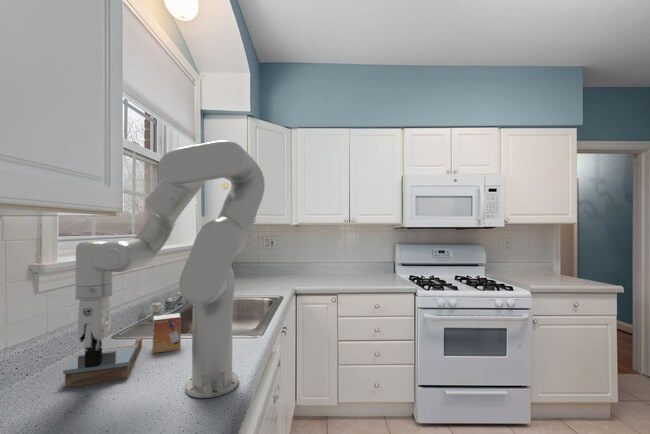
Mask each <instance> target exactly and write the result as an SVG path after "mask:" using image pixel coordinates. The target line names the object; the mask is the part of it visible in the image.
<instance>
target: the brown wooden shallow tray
mask: <svg viewBox="0 0 650 434" xmlns="http://www.w3.org/2000/svg"><path fill="white" fill-rule="evenodd" d="M133 346H136V351H135V353H134V355H133V357H132V359H131V361H130V363H129V365H128V366H124V367H117V368H109V369H101V370H94V371H86V372H78V373H71V374H64V380H65V381H64V388H72V387H78V386H85V385H92V384H93V385H94V384H99V383H107V382H116V381H121V380H127V379H128V378H129V375H130V374H131V371H132V369H133V367H134V365H135V362H136V360H137V358H138V356H139V354H140V352H141V349H142V348H143V336H140V337H137V339H136V340H135V341H134V344H133V345H129V346H128V345H127V346H120V347H119V346H117V347H110V348H109V347H108V348H102V350H107V349H116V348H124V347H133Z"/></svg>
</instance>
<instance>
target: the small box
mask: <svg viewBox="0 0 650 434" xmlns="http://www.w3.org/2000/svg"><path fill="white" fill-rule="evenodd" d="M181 324H182V318H181V313H180V312H175V313H168V314H162V315H153V320H152V354H157V353H163V352H164V353H165V352H171V351H172V352H173V351H179V350H181V342H182V341H181V334H182V333H181V332H182V331H181V330H182V329H181V328H182V326H181Z"/></svg>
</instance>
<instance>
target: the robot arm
mask: <svg viewBox="0 0 650 434" xmlns="http://www.w3.org/2000/svg"><path fill="white" fill-rule="evenodd" d="M157 167H158V168H157V170H158V175H159V177H160V178H161V180H159V182H158V183H157V184H156V185H155V187H154V188H153V189H152V191H151V192H150V193H149V194H148V196H147V197H146V198H145V201H144V205H145V208H146V211H147V217H146V221H145V223H144V224H143V226H142V227H141V229H140V230H139V231H138V232H137V234H136V235H135V236H134V238H133V239H125V240H115V241H111V242H110V241H106V240H89V241H85V240H84V241H81V242H78V244H77V245H76V248H75V281H74V283H75V288H74V289H75V291H74V292H75V293H74V297H75V298H74V299H75V300H76V301H79V303H78V317H77V340H78V342H80V343H83V342H84V347H83V349H84V352H85V368H89V367H97V366H100V364H101V363H102V349H103V347H102V346H103V339H104V338H106V336H107V335H108V334H109V332H110V330H111V328H112V324H111V323H112V321H111V319H112V318H111V302H110V301H111V299H110V297H112V296H113V273H123V272H128V271H130V270H131V271H132V270H134V269H138V268H142V267H144V266H147V265H148V264H149V263H151V261H153V260H154V259H155V257H157V255H158V253H160V251H161V249H163V247H164V246H165V245H166V243H167V241H168V240H169V238H170V237H171V234H172V232H173V230H174V228H175V225H176V221H177V220H178V218H179V216H180V215H181V214H182V213H183V211H184V210H185V208H186V207H187V206H188V205H189V203H190V202H191V201H192V199H193V198H194V197H196V195H197V193H198V192H199V191H200V189H201V188H202V187H203V186H204V184H205V183H206V182H207V181H213V180H219V179H225V180H228V181H229V182H230V185H231V186H230V190H229V192H228V193H227V195H226V197H225V199H224V202H223V205H222V207H221V210H220V212H219V213H218V217H217V218H214V219H212V220H209V221H207V222H206V223H205V224H204V225H203V226H202V227H201V229H200V230H199V232H197V234H196V237H195V238H194V242H193V244H192V247H191V248H190V251H189V254H188V257H187V260H185V261H186V262H185V264H184V266H183V268H182V269H183V270H182V271H181V272H182V273H181V275H180V277H179V283H178V286H179V287H178V288H179V293H180V295H181V298H183V300H184V301H185V302H186V303H188V304H189V305H192V323H191V324H192V327H191V329H192V331H191V332H192V335H191V343H192V345H191V353H192V354H191V368H192V369H191V378H189V379H188V380H187V381H186V383H185V386H184V387H185V389H184V390H185V392H186V394H187V395H189V396H191V397H193V398H198V399H211V398H215V397H220V396H224V395H226V394H228V393H230V392H232V391H233V390H235V388H236V387H238V385H239V376H238V374H237V373H235V372H234V371H233V319H234V318H233V314H234V313H233V308H234V306H233V305H234V296H235V295H234V292H235V283H236V282H235V281H236V280H235V279H236V278H235V272H234V269H233V268H232V264H233V262H234V260H235V258H236V255H239V254H240V253H241V252H243V250H244V248H245V247H246V246H247V245H246V244H247V241H248V238H249V235H250V233H251V230H252V228H253V225H254V223H255V220H256V216H257V214H258V210H259V208H260V206H261V203H262V199H263V197H264V194H265V187H266V186H265V178H264V177H265V176H264V174H263V172H262V169H261V168H260V166H259V164H258V163H257V162H256V160H255V159H254V158H253V157H252V156H251V155H250V154H249V153H248V152H247V151H246V150H245V149H244V148H243V146H241V145H240V144H238V143H237V142H235V141H232V140H216V141H210V142H205V143H200V144H199V143H198V144H193V145H188V146H183V147H177V148H174V149H171V150H169V151H167V152H166V153H165V154H163V156H161V158H160V159H159V161H158V165H157Z"/></svg>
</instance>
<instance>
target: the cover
mask: <svg viewBox="0 0 650 434" xmlns="http://www.w3.org/2000/svg"><path fill="white" fill-rule="evenodd" d="M132 346H133V347H126V346H123V347H124V348H117V347H115V348H116V349H108V348H106V349H107V350H102V363H101V364H100V366H97V367H89V368H85V351H82V352H79V353H78V354H77V355H76V356H75V357H74V358H73V359H72V360H71V362H70V363H69V364H68V365H67V366H66V367H65V368H63V371H62V374H63V375H66V374H71V373H78V372H86V371H94V370H101V369H109V368H117V367H124V366H128V365H129V363H130V361H131V359H132V357H133V355H134V353H135V351H136V346H134V345H132Z"/></svg>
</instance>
